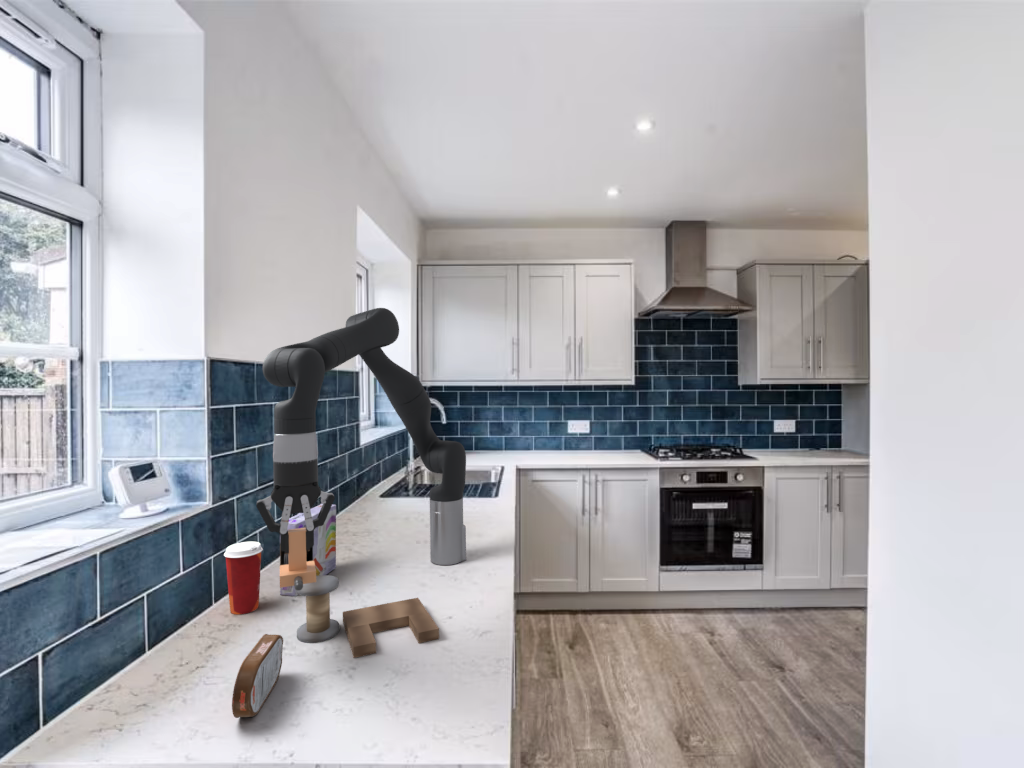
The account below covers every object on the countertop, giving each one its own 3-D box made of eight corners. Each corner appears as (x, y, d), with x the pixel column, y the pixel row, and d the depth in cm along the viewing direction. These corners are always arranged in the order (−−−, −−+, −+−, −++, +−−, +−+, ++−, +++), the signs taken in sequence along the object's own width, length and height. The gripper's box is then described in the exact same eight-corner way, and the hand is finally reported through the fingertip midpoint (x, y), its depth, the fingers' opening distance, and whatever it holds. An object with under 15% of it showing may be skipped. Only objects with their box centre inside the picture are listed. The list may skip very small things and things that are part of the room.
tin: (267, 673, 90) (267, 624, 90) (286, 672, 90) (286, 623, 90) (229, 731, 75) (228, 673, 75) (252, 730, 75) (251, 671, 75)
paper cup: (271, 604, 118) (270, 542, 118) (243, 619, 110) (242, 553, 110) (244, 599, 120) (243, 539, 120) (215, 613, 113) (214, 549, 113)
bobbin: (337, 620, 109) (336, 572, 109) (341, 637, 102) (341, 586, 102) (296, 628, 106) (295, 579, 106) (297, 646, 99) (296, 593, 99)
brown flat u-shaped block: (418, 606, 115) (417, 597, 115) (439, 638, 101) (438, 628, 101) (342, 621, 109) (342, 611, 109) (353, 658, 94) (353, 647, 94)
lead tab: (314, 571, 99) (313, 524, 99) (317, 590, 90) (316, 538, 90) (279, 576, 97) (279, 527, 97) (279, 596, 88) (279, 543, 88)
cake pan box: (294, 599, 120) (293, 522, 120) (275, 597, 121) (274, 521, 121) (338, 569, 139) (337, 503, 139) (321, 568, 140) (320, 502, 140)
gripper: (334, 452, 102) (335, 540, 102) (253, 457, 96) (255, 551, 96) (338, 457, 95) (339, 552, 95) (251, 463, 89) (253, 564, 89)
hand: (297, 550), depth 95 cm, fingers closed on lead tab, 3 cm apart
